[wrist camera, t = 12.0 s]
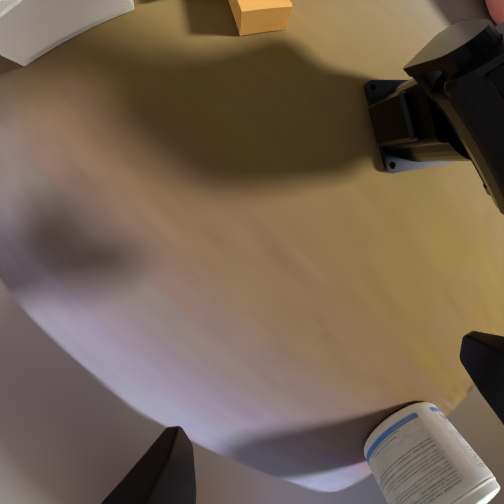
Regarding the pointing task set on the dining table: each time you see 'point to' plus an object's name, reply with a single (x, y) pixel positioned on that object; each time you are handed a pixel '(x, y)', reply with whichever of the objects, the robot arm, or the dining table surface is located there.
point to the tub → (50, 23)
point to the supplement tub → (426, 460)
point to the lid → (260, 15)
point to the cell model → (496, 10)
